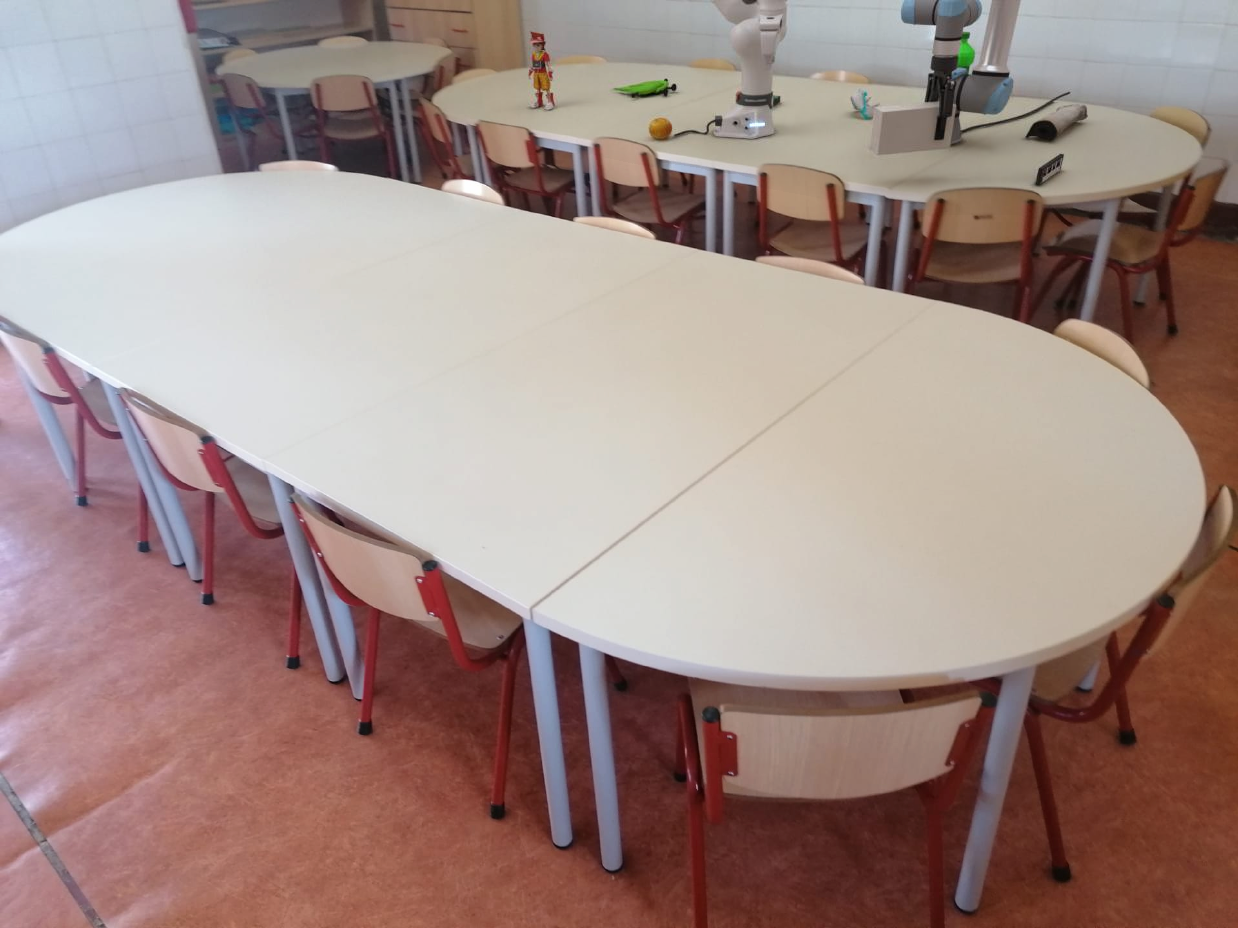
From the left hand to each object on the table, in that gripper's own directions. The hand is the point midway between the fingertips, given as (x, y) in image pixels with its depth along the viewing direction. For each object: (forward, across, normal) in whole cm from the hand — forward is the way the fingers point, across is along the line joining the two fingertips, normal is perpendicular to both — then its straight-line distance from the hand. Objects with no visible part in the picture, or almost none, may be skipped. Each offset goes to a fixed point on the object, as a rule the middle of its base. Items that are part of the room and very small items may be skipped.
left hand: (770, 66), depth 289 cm
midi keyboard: (+30, +14, +88) cm, 93 cm away
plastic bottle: (+30, -81, +65) cm, 108 cm away
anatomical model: (+30, -60, +31) cm, 74 cm away
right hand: (+17, +17, +52) cm, 57 cm away
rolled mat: (+30, -40, +97) cm, 109 cm away
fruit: (+30, -24, -42) cm, 56 cm away
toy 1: (+30, -69, -102) cm, 127 cm away
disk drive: (+30, -73, -10) cm, 79 cm away
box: (+20, +20, +45) cm, 53 cm away
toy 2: (+30, -97, -66) cm, 121 cm away
